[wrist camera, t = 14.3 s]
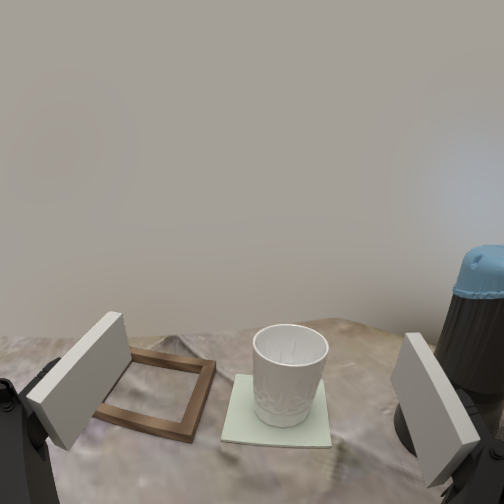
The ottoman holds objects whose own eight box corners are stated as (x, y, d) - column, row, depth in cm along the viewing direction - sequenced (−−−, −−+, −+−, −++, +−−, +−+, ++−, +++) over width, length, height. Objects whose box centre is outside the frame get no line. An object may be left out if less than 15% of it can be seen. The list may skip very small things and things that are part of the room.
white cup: (298, 440, 28) (314, 375, 25) (236, 416, 31) (238, 349, 29) (322, 399, 34) (337, 334, 32) (267, 380, 38) (273, 317, 35)
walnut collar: (216, 369, 41) (216, 360, 40) (192, 443, 27) (190, 435, 27) (127, 353, 42) (126, 345, 41) (83, 413, 28) (80, 404, 28)
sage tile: (322, 381, 38) (322, 379, 38) (330, 447, 27) (331, 445, 27) (236, 375, 39) (236, 373, 39) (221, 441, 28) (220, 439, 28)
